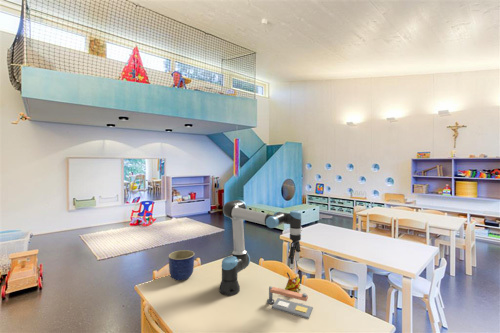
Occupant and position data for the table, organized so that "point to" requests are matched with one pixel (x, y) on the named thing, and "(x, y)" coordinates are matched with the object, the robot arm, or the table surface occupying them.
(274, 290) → the swing arm
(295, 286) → the toy
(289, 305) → the label board
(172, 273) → the planter
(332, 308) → the table surface
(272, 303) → the pivot pedestal
